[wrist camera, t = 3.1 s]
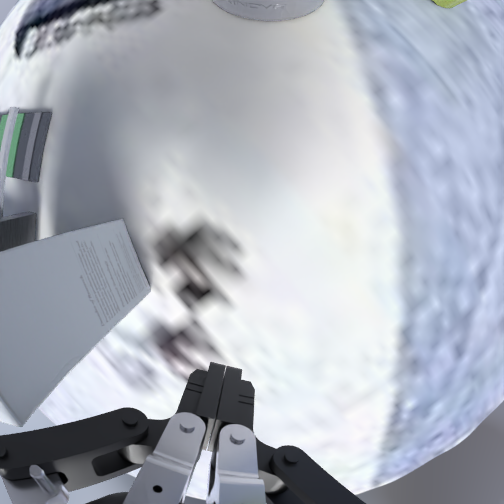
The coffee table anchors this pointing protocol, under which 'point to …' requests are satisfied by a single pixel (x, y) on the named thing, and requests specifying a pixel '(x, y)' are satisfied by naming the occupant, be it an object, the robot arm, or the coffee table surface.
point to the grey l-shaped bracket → (10, 227)
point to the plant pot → (448, 3)
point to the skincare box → (60, 308)
